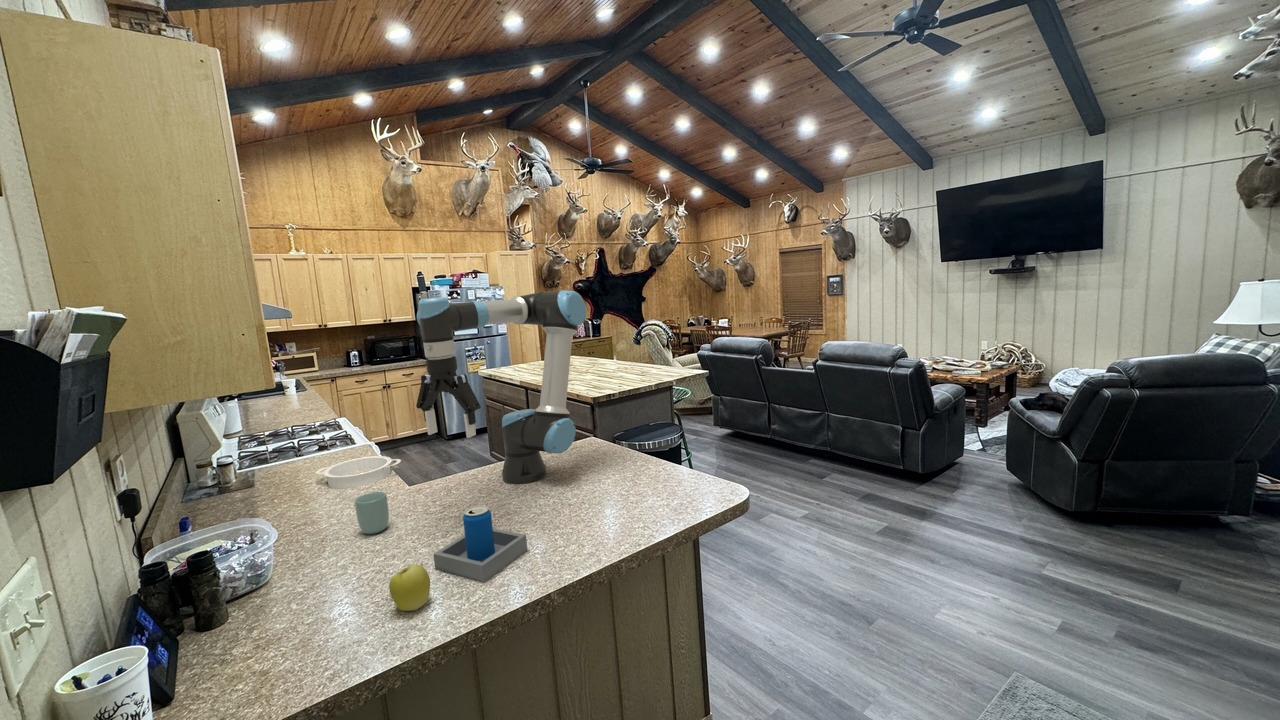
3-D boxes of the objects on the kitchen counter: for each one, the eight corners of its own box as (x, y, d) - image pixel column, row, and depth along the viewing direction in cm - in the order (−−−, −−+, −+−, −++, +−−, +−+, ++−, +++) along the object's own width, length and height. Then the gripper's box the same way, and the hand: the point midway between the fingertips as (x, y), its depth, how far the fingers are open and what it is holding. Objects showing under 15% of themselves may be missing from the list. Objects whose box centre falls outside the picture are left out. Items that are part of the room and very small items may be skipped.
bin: (481, 540, 136) (479, 525, 136) (527, 550, 129) (525, 534, 129) (435, 569, 123) (433, 553, 122) (484, 582, 116) (482, 565, 115)
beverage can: (466, 554, 128) (461, 507, 126) (493, 547, 130) (489, 502, 129) (468, 566, 122) (462, 518, 120) (496, 559, 124) (491, 512, 123)
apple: (444, 594, 110) (425, 558, 107) (410, 623, 105) (389, 587, 102) (427, 582, 116) (408, 548, 112) (394, 609, 110) (373, 574, 107)
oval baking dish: (409, 464, 204) (408, 452, 204) (392, 484, 182) (391, 471, 182) (331, 472, 200) (329, 460, 199) (304, 494, 178) (302, 481, 177)
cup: (396, 525, 148) (392, 492, 147) (376, 538, 141) (371, 503, 140) (374, 523, 151) (369, 490, 149) (353, 536, 143) (348, 501, 142)
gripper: (394, 359, 138) (406, 436, 142) (467, 359, 128) (478, 442, 131) (417, 354, 145) (427, 428, 148) (487, 354, 135) (497, 432, 138)
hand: (451, 434), depth 140 cm, fingers open, 13 cm apart
